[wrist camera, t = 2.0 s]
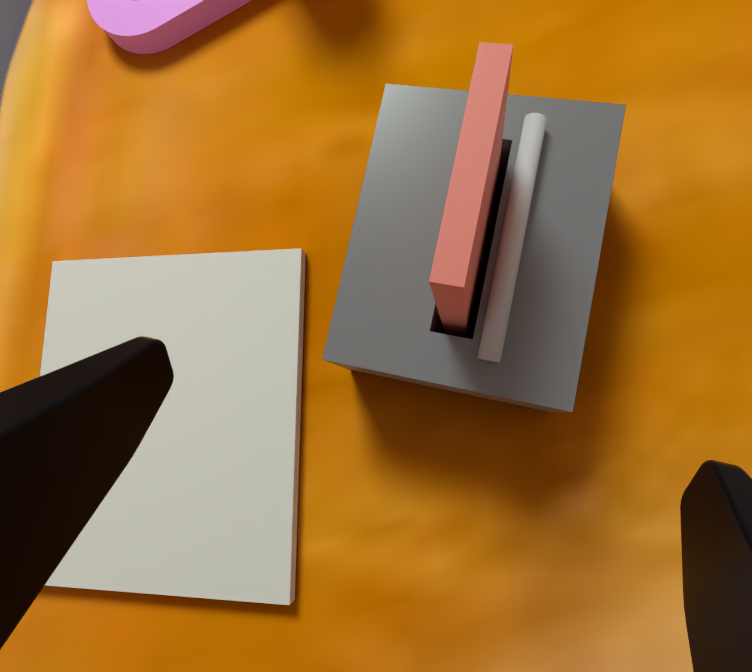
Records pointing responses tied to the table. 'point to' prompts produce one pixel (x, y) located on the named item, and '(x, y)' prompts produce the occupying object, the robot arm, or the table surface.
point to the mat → (194, 422)
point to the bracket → (157, 20)
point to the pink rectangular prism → (471, 191)
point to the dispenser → (507, 256)
